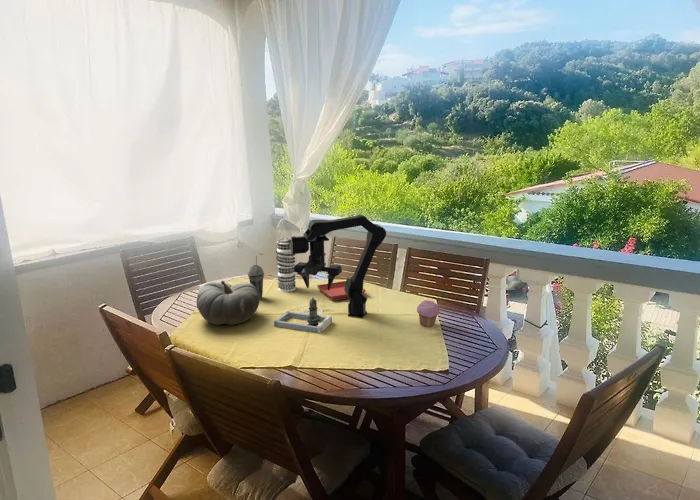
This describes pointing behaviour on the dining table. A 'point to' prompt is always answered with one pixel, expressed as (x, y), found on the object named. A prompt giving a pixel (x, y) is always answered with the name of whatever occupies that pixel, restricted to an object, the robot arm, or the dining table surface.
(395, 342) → the dining table surface
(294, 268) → the robot arm
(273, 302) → the dining table surface
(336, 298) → the plant saucer
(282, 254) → the decorative candle
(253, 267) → the beverage cup
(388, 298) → the dining table surface
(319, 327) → the frame
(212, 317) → the gourd
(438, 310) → the cupcake
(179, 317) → the dining table surface
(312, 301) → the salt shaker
